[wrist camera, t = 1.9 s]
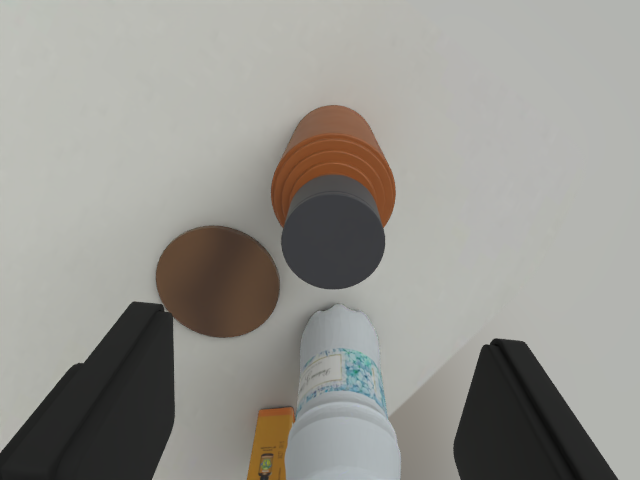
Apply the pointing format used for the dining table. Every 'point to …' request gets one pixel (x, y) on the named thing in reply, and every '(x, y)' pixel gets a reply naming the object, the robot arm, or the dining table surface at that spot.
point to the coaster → (218, 281)
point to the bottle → (341, 404)
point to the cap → (333, 233)
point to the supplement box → (271, 444)
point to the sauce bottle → (333, 159)
